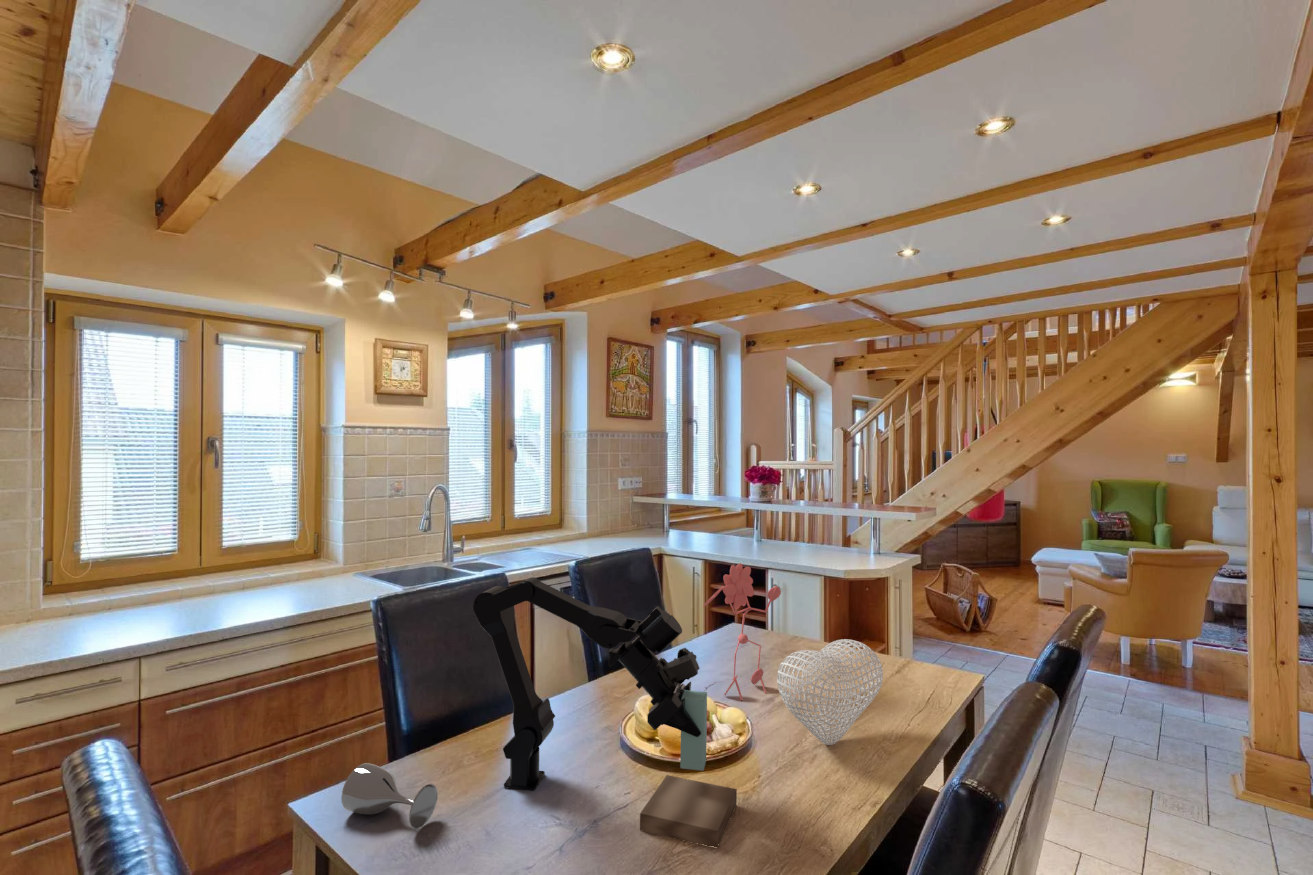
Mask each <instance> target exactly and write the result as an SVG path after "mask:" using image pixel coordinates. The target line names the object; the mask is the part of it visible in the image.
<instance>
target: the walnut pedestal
mask: <svg viewBox="0 0 1313 875" xmlns="http://www.w3.org/2000/svg"><path fill="white" fill-rule="evenodd" d="M737 792H738V791H737V788H734V787H729V786H723V785H718V784H712V783H707V782H703V781H698V780H695V779H693V780H692V779H687V778H683V777H678V776H673V775H668V774H667V775H666V776H664V778H663V780H662V781H661V783H660V784H659V786H658V787H657V788H656V790H655V791H654V793H653V794H652V795H651V797H650V799H649V800H648V801H647V803H646V804H645V805H644V806H643V808H642V809H641V812H640V813H639V831H641V832H645V833H649V834H653V835H657V836H661V837H665V838H670V839H674V838H675V839H674V840H678V839H679V841H682V840H685V841H684V842H687V843H690V842H692V843H691V844H695V843H698V844H697V845H699V844H704V845H707V846H714V847H718V848H719V846H718V844H719V843H720V844H721V841H722V839H723V837H722V836H724V835H723V834H725V832H726V830H727V828H728V826H727V825H729V823H730V821H731V819H732V817H733V814H734V812H733V811H735V810H734V809H736V808H735V807H737V799H738V798H737ZM732 813H733V814H732ZM731 816H732V817H731ZM730 818H731V819H730ZM729 820H730V821H729ZM728 822H729V823H728ZM726 827H727V828H726ZM725 829H726V830H725ZM724 831H725V832H724ZM666 836H667V837H666ZM721 838H722V839H721ZM720 844H719V845H720ZM707 846H706V847H707Z"/></svg>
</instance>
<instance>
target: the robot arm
mask: <svg viewBox="0 0 1313 875" xmlns="http://www.w3.org/2000/svg"><path fill="white" fill-rule="evenodd" d="M524 602H529V603H530V604H532V605H534V606H537V607H538V608H541V609H542V610H545V611H547V612H548V613H551V614H552V615H554V616H556V617H559V618H561V619H562V620H564V621H567V622H568V623H570V624H573V625H574V626H576V627H577V628H579V629H580V630H581V631H582V632H583V633H584V634H585V636H586V637H587V638H588V639H590V640H591V641H592V642H593V643H595V644H597V645H598V646H600V647H601V648H603V649H607V650H608V649H609V651H608V667H611V668H612V666H613V667H614V665H615V664H616V663H617V662H618V661H619V663H621V665H622V666H623V667H624V668H625V669H626V670H627V672H628V673H629V674H630V675H631V676H632V677H633V678H634V679H635V681H636V684H635V686H636V688H637V689H638V690H640V689H641V688H643V689H644V691H645V692H646V693H647V694H648V696H650V697H651V699H650V703H651V704H652V706H651V707H650V709H649V711H648V713H647V721H646V723H648V725H649V726H650V727H651V728H652V729H653V731H656V730H658V728H659V727H660V726H663V725H665V726H667V727H671V728H674V729H676V730H678V731H680V732H681V731H683V732H686V733H688V734H690V735H693V736H695V737H698V736H700V735H701V732H700V730H699V728H698V727H697V725H696V724H695V722H694V721H693V719H692V718H691V717H690V715H689V714H688V712H687V711H686V709H685V698H684V699H682V700H681V698H682V696H683V693H684V691H685V690H689V691H692V690H691V688H692V681H689V680H690V679H691V678H694V677H696V676H697V675H698V674H699V670H700V666H699V663H698V661H697V658H698V657H697V655H696V654H694V652H693V651H690V650H689V649H688V648H687V647H683V648H680V649H679V650H678V652H677V655H676V656H677V657H675V658H673V660H670V661H669V662H668V661H667V660H666V659H665V658H663V657H660V658H658V657H657V656H656V655H655V654H654V653H656V652H658V653H661V652H663V651H665V649H666V648H668V646H669V645H670V644H671V643H673V642H674V641H675V640H676V639H677V638H679V636H680V635H682V633H683V628H682V627H681V625H680V622H678V620H677V619H676V618H675V616H673V615H671V614H670V613H669V612H667V611H666V610H664V609H662V608H661V607H660V606H658V605H657V606H656V607H655V608H654V609H653V610H652V611H651V613H650V614H649V615H648V616H647V617H646V618H645V619H644V620H641V619H636V618H629V617H627V616H626V615H625V614H623V613H622V612H620V611H617V610H613V609H610V608H606V607H600V606H594V605H591V604H587V603H585V602H583V601H581V600H579V599H576V597H573V596H571V595H569V594H566V593H565V592H563V591H561V590H558V589H556V588H555V587H552V586H550V585H548V584H547V583H544V582H543V581H541V580H540V579H538V578H536V577H534V576H533V577H528V578H526V579H524V580H523V581H521V582H516V583H515V584H511V585H509V586H506V587H504V586H501V585H496V586H493V587H491V588H489V589H487V590H485V591H483V592H481V593H480V594H478V595H477V596H476V597H475V598H474V601H473V603H472V611H473V614H474V615H475V618H476V620H477V622H478V624H479V626H480V628H482V629H483V630H484V631H485V632H486V633H487V634H488V635H489V637H490V638H491V640H492V643H493V648H494V649H495V652H496V656H497V659H498V662H499V665H500V668H501V670H502V674H503V677H504V680H505V682H506V687H507V689H508V692H509V695H510V698H511V701H512V705H513V709H512V728H513V734H514V735H513V737H511V739H509V741H508V742H507V743H506V744H505V745H504V746H503V748H502V751H503V754H504V757H505V759H506V760H509V761H510V762H509V764H510V765H509V770H510V771H509V772H510V773H509V777H508V778H507V779H506V780H505V782H504V783H503V788H506V789H507V788H508V789H517V790H518V789H519V790H531V791H534V790H536V789H537V787H538V786H539V785H540V782H541V781H542V779H543V778H544V776H545V774H546V772H545V770H540V747H541V746H542V744H543V742H544V741H546V739H547V737H548V736H549V735H550V734H551V732H552V731H553V728H554V726H555V725H554V724H555V723H554V719H555V717H556V715H555V714H554V712H553V710H552V707H551V702H550V699H549V698H546V699H543V700H542V698H541V697H540V696H539V695H537V692H536V691H535V688H534V684H533V681H532V678H531V675H530V672H529V669H528V667H527V663H526V660H525V656H524V655H523V651H522V648H521V645H520V642H519V639H518V636H517V633H516V630H515V614H516V613H515V606H516V605H518V604H521V603H524ZM637 635H638V636H637ZM636 636H637V637H636ZM633 638H635V639H634V640H632V639H633ZM621 643H622V644H621ZM619 644H621V645H619ZM618 645H619V647H618V648H615V647H616V646H618ZM686 680H687V681H689V682H688V683H687V684H684V682H685V681H686Z"/></svg>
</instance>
